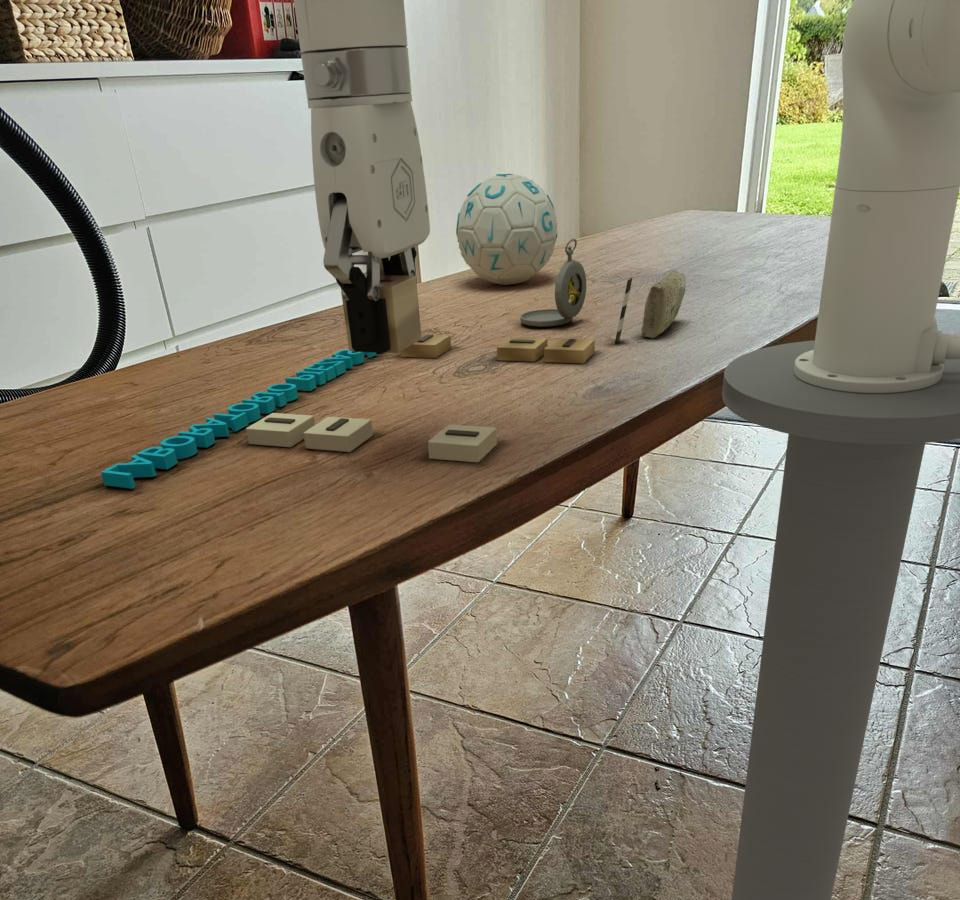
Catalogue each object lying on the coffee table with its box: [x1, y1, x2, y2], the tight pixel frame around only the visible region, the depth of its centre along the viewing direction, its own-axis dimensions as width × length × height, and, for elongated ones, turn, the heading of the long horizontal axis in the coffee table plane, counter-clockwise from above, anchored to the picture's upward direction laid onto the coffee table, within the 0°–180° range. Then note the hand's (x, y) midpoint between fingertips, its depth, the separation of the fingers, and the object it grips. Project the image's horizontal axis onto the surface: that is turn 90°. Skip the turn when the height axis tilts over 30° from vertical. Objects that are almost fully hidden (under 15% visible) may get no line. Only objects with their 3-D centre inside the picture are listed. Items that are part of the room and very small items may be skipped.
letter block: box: [341, 275, 422, 354], centre depth 72 cm, size 4×4×5 cm
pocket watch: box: [519, 238, 587, 328], centre depth 111 cm, size 8×8×10 cm
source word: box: [400, 333, 596, 365], centre depth 102 cm, size 22×4×2 cm, turn 69°
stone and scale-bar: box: [614, 269, 687, 345], centre depth 105 cm, size 7×4×12 cm
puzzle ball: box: [455, 173, 559, 286], centre depth 134 cm, size 15×15×15 cm
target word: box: [245, 412, 498, 463], centre depth 79 cm, size 22×4×2 cm, turn 69°
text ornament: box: [100, 349, 377, 489], centre depth 91 cm, size 45×3×1 cm, turn 157°
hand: (386, 340), depth 74 cm, fingers closed on letter block, 4 cm apart
